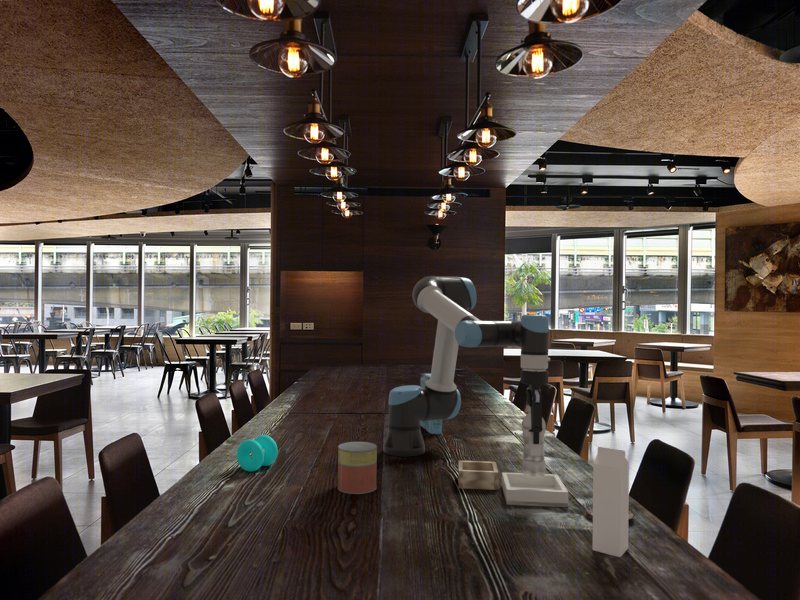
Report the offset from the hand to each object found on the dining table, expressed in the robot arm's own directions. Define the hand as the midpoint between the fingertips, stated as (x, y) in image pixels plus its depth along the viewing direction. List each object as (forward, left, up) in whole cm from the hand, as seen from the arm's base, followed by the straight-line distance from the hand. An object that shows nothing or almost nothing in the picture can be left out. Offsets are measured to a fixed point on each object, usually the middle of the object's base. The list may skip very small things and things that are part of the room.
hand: (533, 452), depth 161 cm
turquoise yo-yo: (-85, +16, -12) cm, 87 cm away
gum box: (-32, +83, -12) cm, 90 cm away
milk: (+12, -34, -12) cm, 38 cm away
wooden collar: (-15, +10, -12) cm, 22 cm away
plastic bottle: (0, 0, -7) cm, 7 cm away
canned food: (-50, +1, -12) cm, 52 cm away
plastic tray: (0, 0, -12) cm, 12 cm away
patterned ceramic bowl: (+17, -14, -13) cm, 25 cm away
